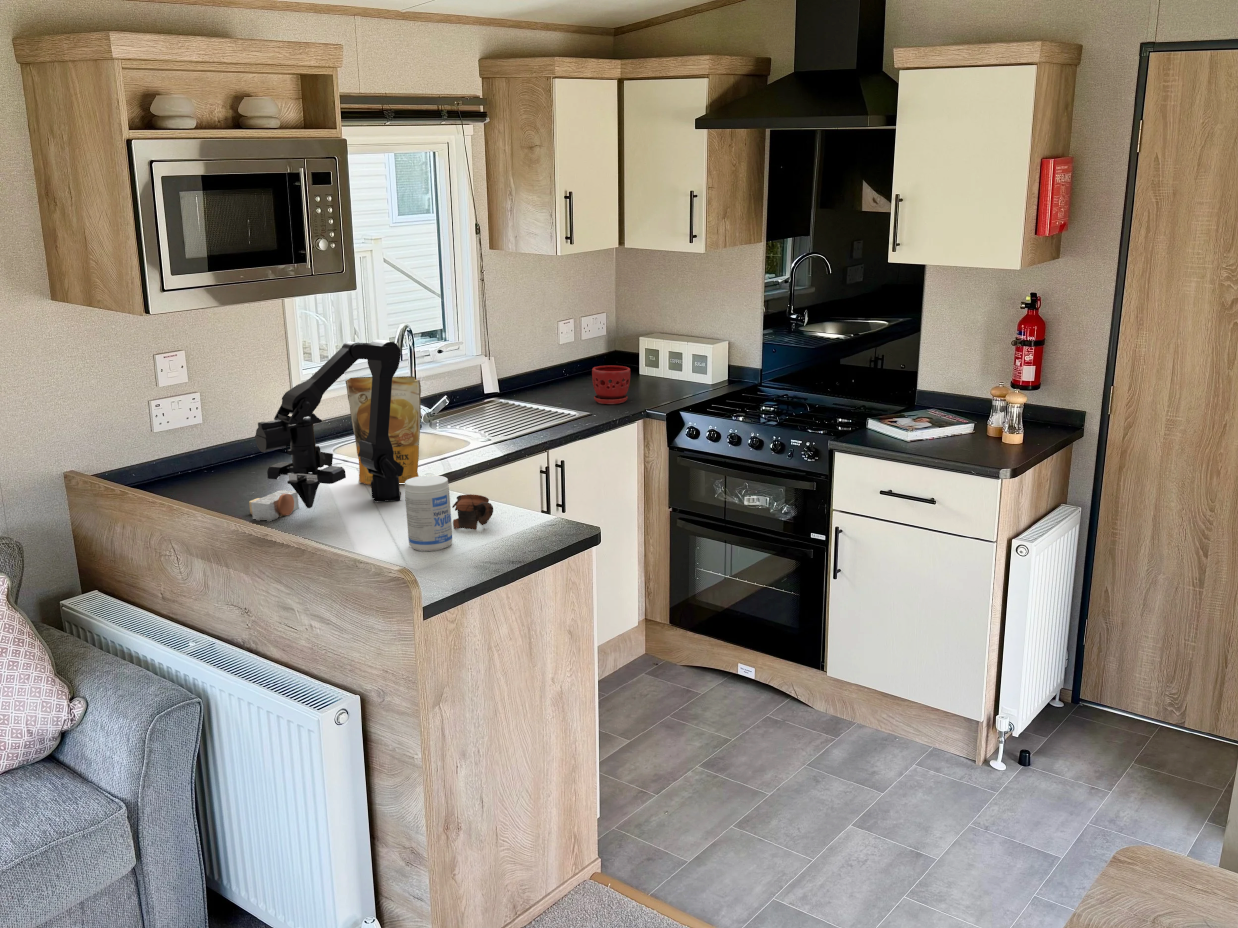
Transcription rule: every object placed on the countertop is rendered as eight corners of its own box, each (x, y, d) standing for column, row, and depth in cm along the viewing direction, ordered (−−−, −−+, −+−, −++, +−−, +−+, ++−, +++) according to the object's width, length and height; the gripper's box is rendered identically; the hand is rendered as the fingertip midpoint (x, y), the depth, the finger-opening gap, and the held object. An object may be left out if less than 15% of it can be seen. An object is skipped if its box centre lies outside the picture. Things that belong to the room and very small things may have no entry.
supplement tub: (445, 553, 244) (440, 486, 240) (402, 552, 245) (397, 486, 242) (458, 538, 253) (454, 474, 249) (417, 537, 255) (412, 474, 251)
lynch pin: (295, 512, 277) (293, 491, 276) (281, 518, 272) (279, 497, 271) (261, 509, 281) (259, 488, 279) (247, 515, 276) (245, 494, 275)
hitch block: (299, 508, 280) (297, 491, 279) (270, 521, 270) (268, 504, 269) (282, 506, 282) (280, 490, 281) (253, 519, 272) (251, 502, 271)
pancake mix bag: (358, 478, 305) (348, 375, 298) (428, 478, 304) (420, 374, 297) (351, 485, 299) (341, 380, 292) (422, 484, 297) (414, 379, 290)
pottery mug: (441, 530, 261) (445, 495, 264) (471, 538, 268) (474, 503, 271) (478, 525, 254) (481, 489, 256) (508, 533, 261) (511, 498, 263)
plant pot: (610, 407, 385) (609, 372, 382) (585, 402, 394) (584, 368, 391) (639, 401, 393) (638, 367, 390) (613, 396, 403) (612, 363, 400)
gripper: (356, 438, 272) (362, 501, 276) (291, 434, 279) (298, 495, 283) (328, 449, 262) (334, 514, 266) (261, 444, 269) (269, 508, 273)
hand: (309, 507), depth 272 cm, fingers closed
